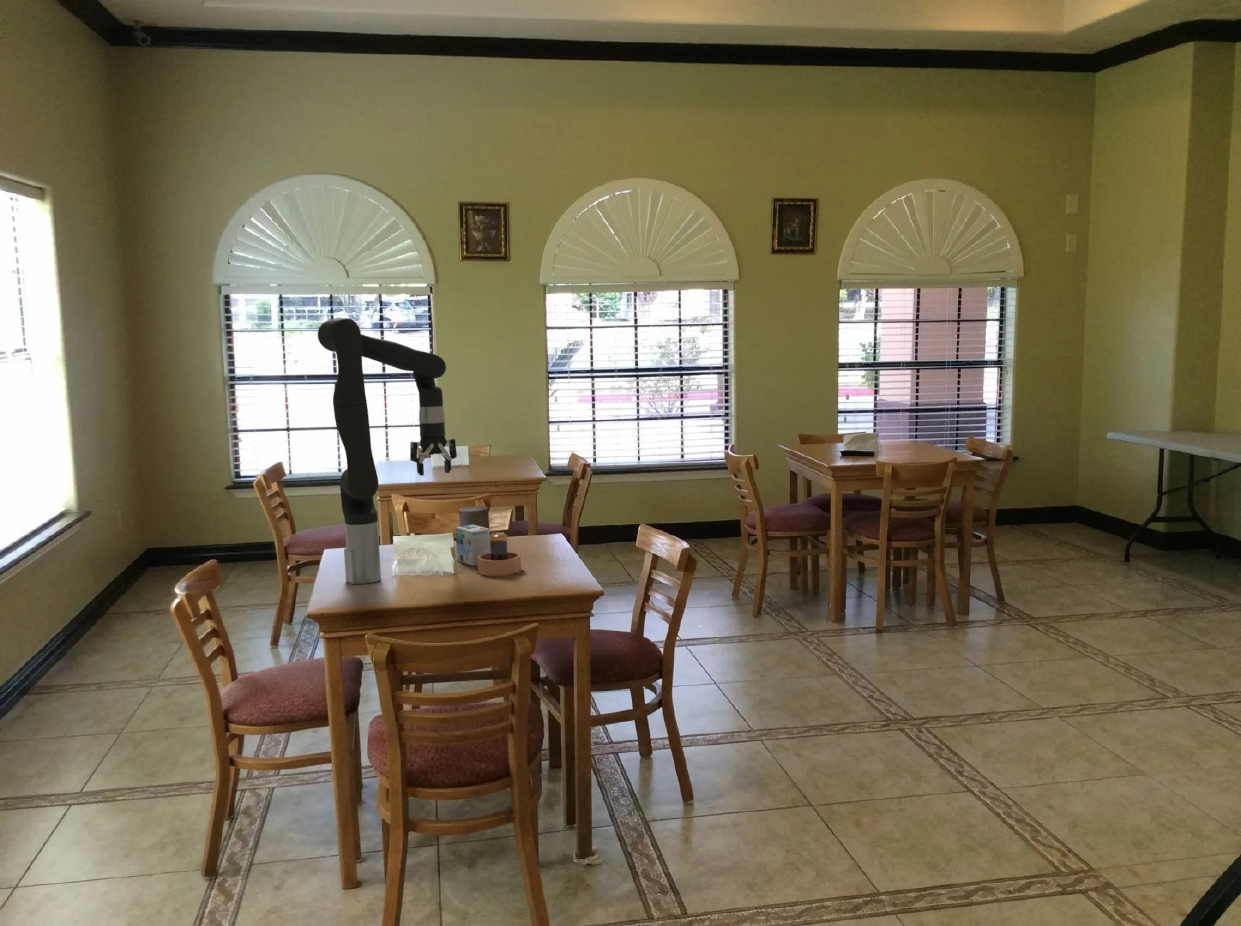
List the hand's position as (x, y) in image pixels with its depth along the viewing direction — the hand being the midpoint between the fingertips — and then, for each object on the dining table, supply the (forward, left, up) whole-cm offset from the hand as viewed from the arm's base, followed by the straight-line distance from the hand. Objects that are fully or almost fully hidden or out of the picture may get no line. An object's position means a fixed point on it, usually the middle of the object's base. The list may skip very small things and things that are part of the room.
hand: (434, 474), depth 310 cm
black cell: (+10, -21, -27) cm, 36 cm away
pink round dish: (+10, -21, -28) cm, 36 cm away
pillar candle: (+19, +13, -28) cm, 36 cm away
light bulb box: (+10, -4, -28) cm, 30 cm away
